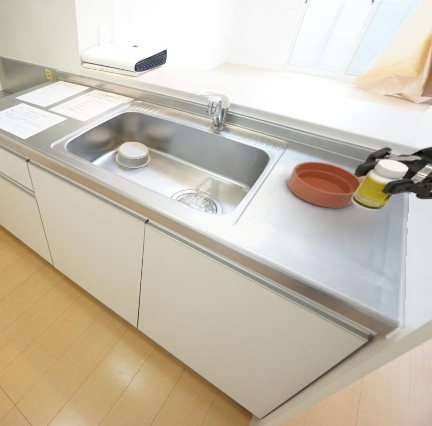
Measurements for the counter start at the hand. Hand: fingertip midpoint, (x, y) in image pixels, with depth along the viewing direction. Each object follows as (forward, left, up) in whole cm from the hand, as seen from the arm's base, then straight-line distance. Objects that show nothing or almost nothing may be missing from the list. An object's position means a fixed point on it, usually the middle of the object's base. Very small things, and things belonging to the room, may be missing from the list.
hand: (372, 179), depth 48 cm
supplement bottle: (-1, -2, -6) cm, 7 cm away
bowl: (+8, -21, -18) cm, 29 cm away
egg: (0, -30, -18) cm, 35 cm away
